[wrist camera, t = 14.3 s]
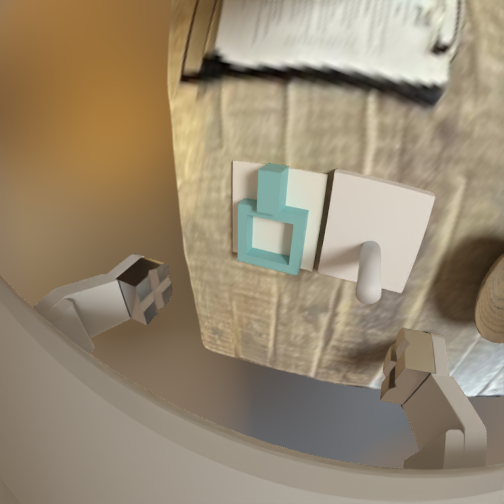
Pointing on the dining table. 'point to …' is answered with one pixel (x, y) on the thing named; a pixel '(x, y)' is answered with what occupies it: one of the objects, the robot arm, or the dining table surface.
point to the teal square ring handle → (272, 208)
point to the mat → (298, 195)
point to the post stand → (373, 232)
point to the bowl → (491, 304)
